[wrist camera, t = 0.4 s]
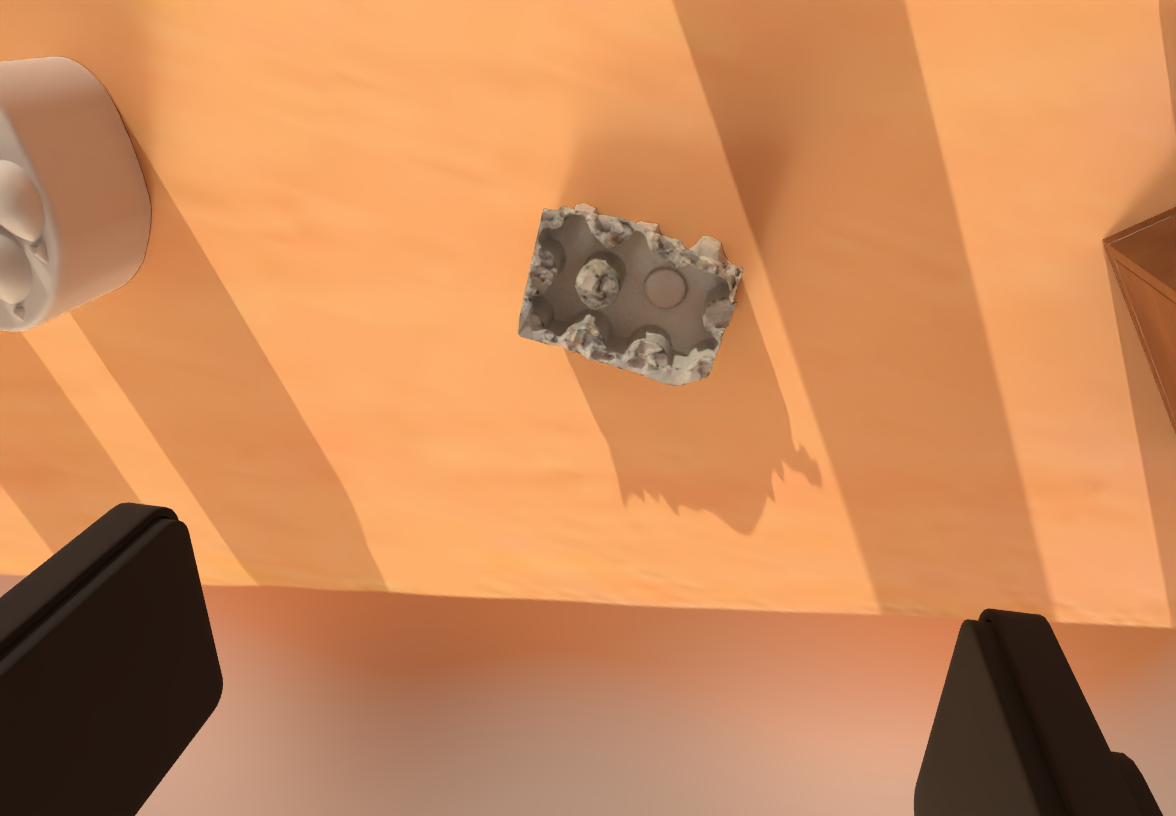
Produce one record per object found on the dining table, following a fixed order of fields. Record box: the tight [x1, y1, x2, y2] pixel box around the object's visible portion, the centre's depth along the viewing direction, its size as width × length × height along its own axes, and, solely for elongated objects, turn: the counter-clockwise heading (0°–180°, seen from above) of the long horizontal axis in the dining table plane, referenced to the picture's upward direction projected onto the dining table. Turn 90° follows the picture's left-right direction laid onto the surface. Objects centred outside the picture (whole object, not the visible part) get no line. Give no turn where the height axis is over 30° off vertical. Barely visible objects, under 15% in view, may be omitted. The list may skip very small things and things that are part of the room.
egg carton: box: [518, 203, 743, 386], centre depth 43 cm, size 11×8×4 cm
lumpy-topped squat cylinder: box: [0, 56, 151, 332], centre depth 44 cm, size 10×13×9 cm
